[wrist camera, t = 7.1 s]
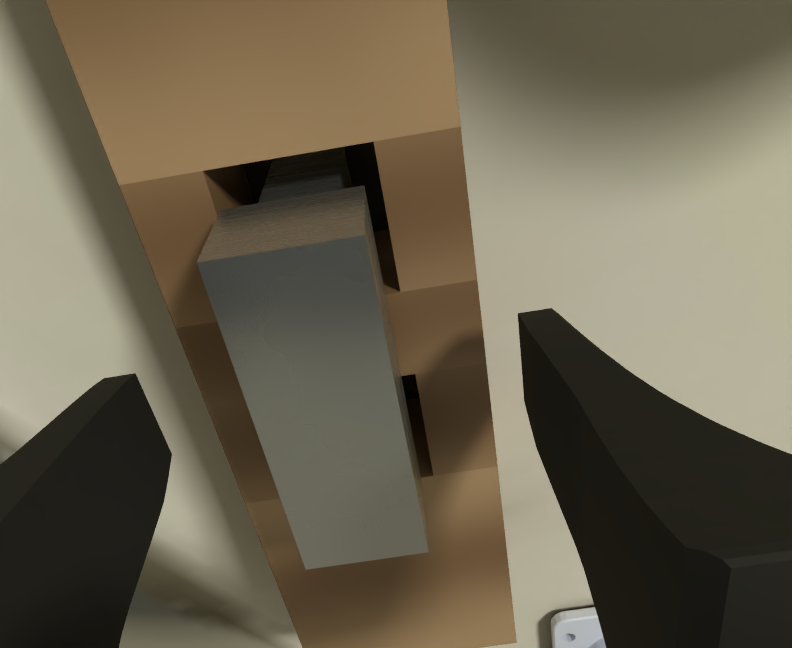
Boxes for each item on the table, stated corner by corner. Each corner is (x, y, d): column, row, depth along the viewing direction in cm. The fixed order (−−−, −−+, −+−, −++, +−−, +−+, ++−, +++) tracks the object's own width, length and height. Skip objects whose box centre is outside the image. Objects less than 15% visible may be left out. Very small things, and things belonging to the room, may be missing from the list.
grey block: (411, 384, 18) (428, 551, 14) (319, 398, 18) (305, 569, 14) (363, 126, 14) (364, 235, 10) (249, 146, 15) (196, 263, 10)
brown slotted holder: (498, 556, 22) (516, 642, 19) (317, 582, 22) (311, 670, 20) (387, -383, 10) (395, -474, 8) (9, -304, 11) (-101, -366, 8)
